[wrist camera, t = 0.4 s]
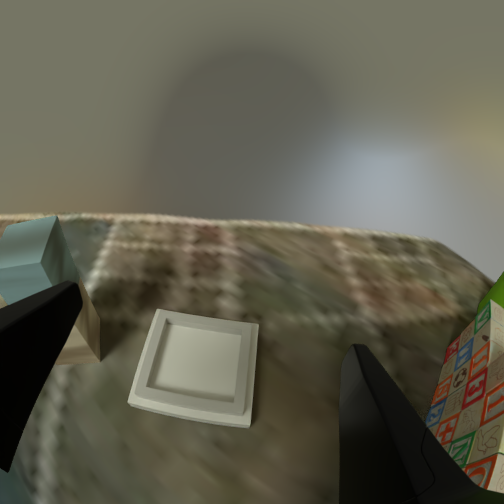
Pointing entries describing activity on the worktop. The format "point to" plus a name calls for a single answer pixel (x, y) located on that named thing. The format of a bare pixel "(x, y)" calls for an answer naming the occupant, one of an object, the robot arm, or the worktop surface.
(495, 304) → the stack of blocks
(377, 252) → the worktop surface
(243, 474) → the worktop surface
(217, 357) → the base plate
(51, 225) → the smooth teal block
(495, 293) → the spray bottle
